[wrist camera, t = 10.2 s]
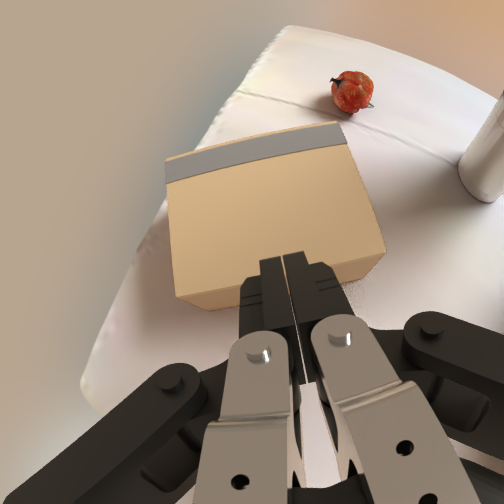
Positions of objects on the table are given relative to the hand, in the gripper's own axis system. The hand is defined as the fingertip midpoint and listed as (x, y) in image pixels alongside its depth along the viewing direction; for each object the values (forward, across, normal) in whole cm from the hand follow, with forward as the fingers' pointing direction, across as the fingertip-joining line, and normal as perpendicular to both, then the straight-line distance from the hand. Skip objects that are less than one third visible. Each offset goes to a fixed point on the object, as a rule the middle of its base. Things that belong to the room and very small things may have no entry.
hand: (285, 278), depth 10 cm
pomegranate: (+42, -18, -4) cm, 46 cm away
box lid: (+20, 0, +4) cm, 21 cm away
